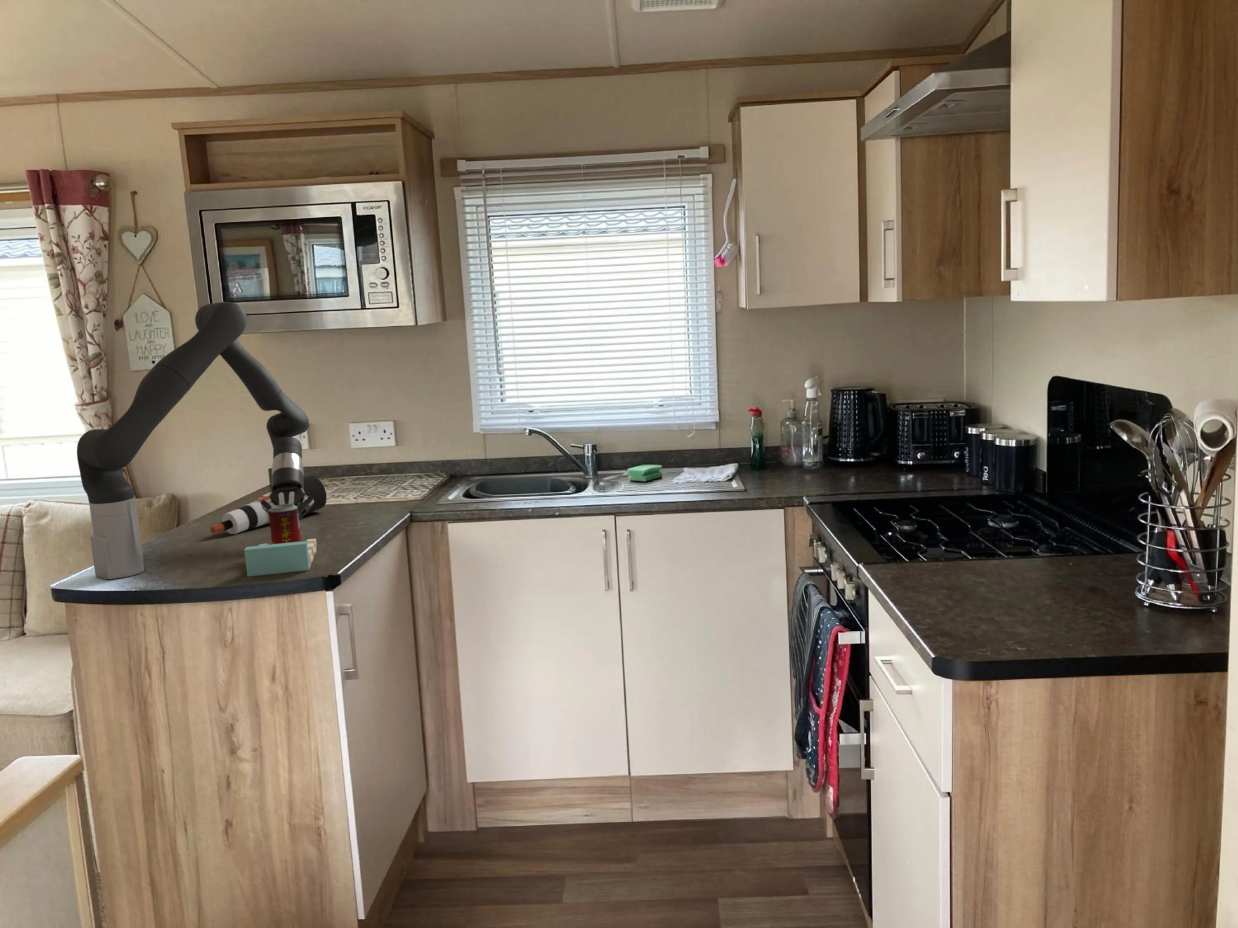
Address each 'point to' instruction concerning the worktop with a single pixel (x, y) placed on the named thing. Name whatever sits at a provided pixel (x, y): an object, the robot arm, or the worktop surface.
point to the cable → (256, 516)
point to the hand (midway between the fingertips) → (287, 532)
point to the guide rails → (311, 549)
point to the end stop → (277, 558)
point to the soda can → (284, 524)
